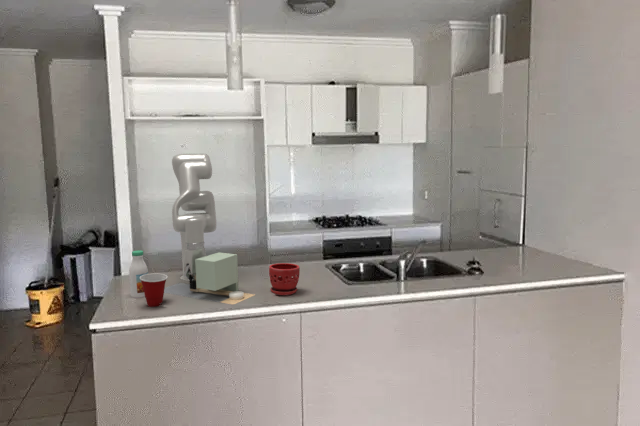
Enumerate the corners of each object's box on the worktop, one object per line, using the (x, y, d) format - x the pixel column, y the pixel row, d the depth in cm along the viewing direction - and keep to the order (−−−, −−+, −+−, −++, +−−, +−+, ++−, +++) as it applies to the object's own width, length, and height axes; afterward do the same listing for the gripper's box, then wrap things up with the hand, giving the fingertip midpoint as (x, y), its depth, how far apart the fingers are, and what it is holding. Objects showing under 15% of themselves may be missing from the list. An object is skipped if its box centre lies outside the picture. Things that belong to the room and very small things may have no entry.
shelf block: (220, 291, 237) (218, 252, 234) (238, 294, 232) (237, 254, 229) (197, 300, 224) (195, 259, 221) (216, 303, 219) (214, 261, 216)
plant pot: (288, 298, 224) (288, 270, 223) (263, 294, 231) (262, 267, 230) (305, 291, 236) (305, 264, 234) (281, 287, 242) (280, 261, 241)
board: (179, 284, 248) (179, 282, 248) (242, 294, 231) (242, 292, 231) (155, 293, 235) (155, 291, 235) (219, 304, 218) (219, 302, 218)
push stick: (197, 288, 236) (196, 272, 235) (233, 293, 226) (232, 277, 225) (190, 290, 232) (189, 274, 231) (227, 296, 222) (226, 279, 222)
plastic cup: (155, 310, 212) (154, 280, 210) (135, 306, 216) (133, 277, 215) (174, 302, 221) (173, 274, 220) (154, 299, 226) (153, 271, 224)
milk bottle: (130, 300, 225) (127, 253, 222) (131, 295, 233) (128, 250, 230) (149, 298, 227) (146, 252, 225) (149, 293, 235) (147, 248, 232)
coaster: (235, 295, 227) (234, 290, 227) (246, 296, 224) (246, 292, 224) (226, 298, 222) (226, 294, 222) (238, 300, 219) (237, 296, 219)
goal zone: (242, 294, 231) (242, 292, 231) (255, 297, 227) (255, 294, 227) (219, 304, 218) (219, 302, 218) (233, 306, 214) (233, 304, 214)
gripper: (201, 241, 239) (203, 281, 242) (174, 248, 225) (176, 291, 227) (214, 243, 236) (216, 283, 238) (188, 250, 221) (190, 293, 224)
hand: (197, 286), depth 233 cm, fingers closed on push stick, 4 cm apart
